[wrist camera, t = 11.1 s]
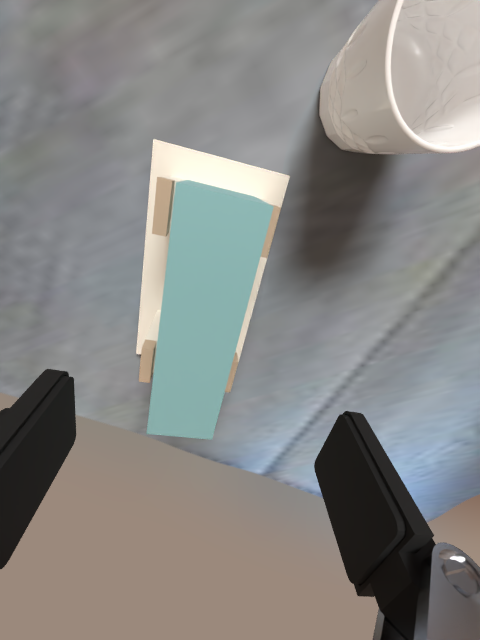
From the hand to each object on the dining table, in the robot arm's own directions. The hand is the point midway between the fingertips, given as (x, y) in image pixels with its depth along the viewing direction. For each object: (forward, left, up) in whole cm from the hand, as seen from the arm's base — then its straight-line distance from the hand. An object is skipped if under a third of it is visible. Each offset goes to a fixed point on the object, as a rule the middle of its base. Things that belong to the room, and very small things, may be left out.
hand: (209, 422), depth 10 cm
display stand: (+1, 0, -17) cm, 17 cm away
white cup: (-8, -15, -17) cm, 24 cm away
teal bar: (+1, 0, -11) cm, 11 cm away
